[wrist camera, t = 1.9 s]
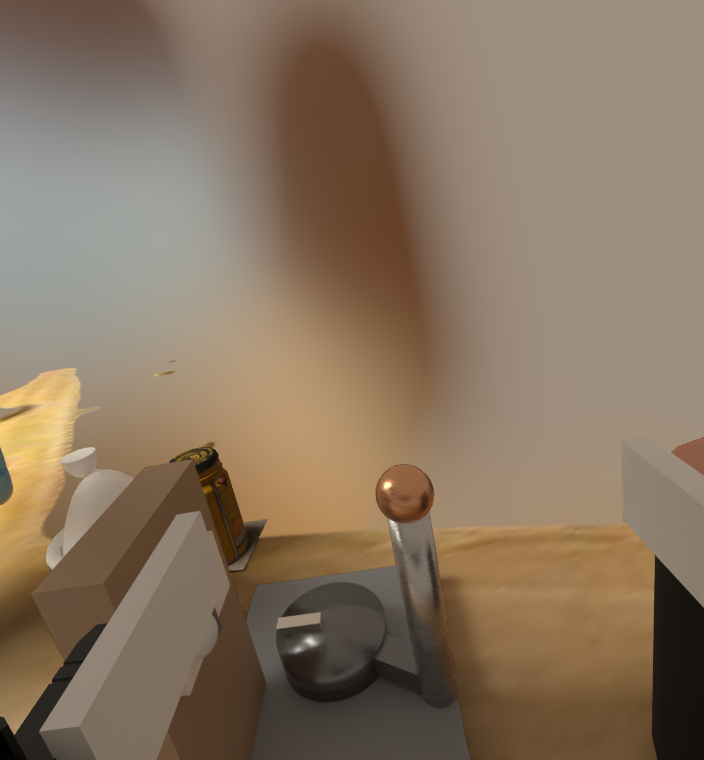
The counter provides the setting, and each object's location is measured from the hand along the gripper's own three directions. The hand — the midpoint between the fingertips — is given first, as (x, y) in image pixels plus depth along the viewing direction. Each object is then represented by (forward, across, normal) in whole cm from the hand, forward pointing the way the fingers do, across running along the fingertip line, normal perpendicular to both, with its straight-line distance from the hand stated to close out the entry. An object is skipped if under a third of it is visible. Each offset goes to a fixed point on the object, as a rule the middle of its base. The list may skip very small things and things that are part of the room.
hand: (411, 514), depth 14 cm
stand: (+12, -7, -22) cm, 26 cm away
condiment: (+32, -21, -22) cm, 44 cm away
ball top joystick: (+13, -5, -20) cm, 25 cm away
